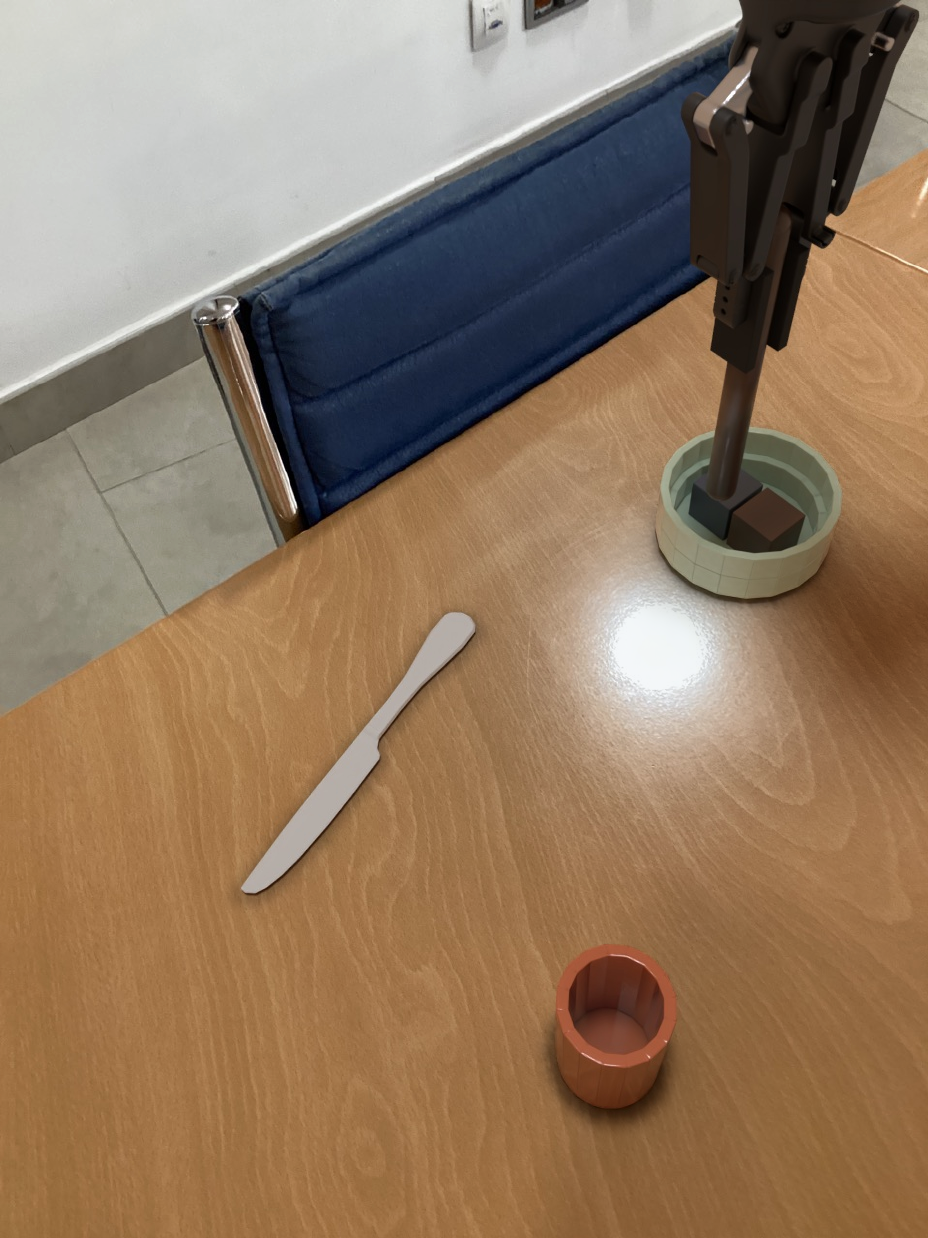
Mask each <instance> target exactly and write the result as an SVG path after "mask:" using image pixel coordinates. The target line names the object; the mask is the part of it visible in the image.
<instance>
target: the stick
mask: <svg viewBox="0 0 928 1238" xmlns="http://www.w3.org/2000/svg"><path fill="white" fill-rule="evenodd" d="M791 227H792V214H791V212H790V210H789V209H788V207H787V206H785V205H784V204H782V203H781V206H780V210H779V214H778V218H777V221H776V225H775V229H774V233H773V237H772V241H771V244H770V248H769V252H768V256H767V260H766V264H765V266H767V267H768V268H770V269H772V270H773V271H774V276H773V281H772V286H771V291H770V296H769V301H768V306H767V311H766V316H765V320H764V325H763V330H762V335H761V340H760V345H759V350H758V355H757V360H756V364H755V368H754V369H752V370H751V371H749V372H748V373H747V374H745V373H743V372H742V371H740V370H739V369H737V368H736V367H734V366H733V365H731V364H730V363H728V362H727V361H726V365H725V366H726V367H725V372H724V378H723V384H722V390H721V396H720V400H719V401H720V402H719V407H718V411H717V418H716V419H717V420H716V424H715V429H714V430H715V435H714V440H713V446H712V452H711V458H710V463H709V469H708V475H707V481H706V491H707V494H708V495H709V496H710V497H711V498H712V499H714V500H716V501H726V500H728V499H730V498H731V497H732V496H733V495H734V493H735V491H736V488H737V483H738V479H739V474H740V469H741V464H742V460H743V455H744V450H745V445H746V441H747V436H748V431H749V426H751V422H752V416H753V412H754V407H755V402H756V398H757V393H758V389H759V384H760V379H761V374H762V369H763V365H764V360H765V355H766V350H767V347H768V345H767V341H768V336H769V332H770V327H771V322H772V317H773V313H774V308H775V303H776V299H777V294H778V289H779V284H780V280H781V275H782V270H783V265H784V261H785V256H786V251H787V246H788V242H789V237H790V232H791Z"/></svg>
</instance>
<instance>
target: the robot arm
mask: <svg viewBox="0 0 928 1238" xmlns="http://www.w3.org/2000/svg"><path fill="white" fill-rule="evenodd" d="M901 1H902V0H738V2H739V6H740V9H741V14H742V15H741V21H740V24H739V27H738V30H737V33H736V36H735V38H734V41H733V43H732V45H731V48H730V50H729V55H728V70H729V72H728V73H727V74H726V76H724V78H723V79H722V80H721V81H720V83H719V84H718V85H717V86H716V87H715V88H714V90H713V91H712V92H711V93H710V95H708V96H706V95H704V94H702V93H700V92H698V91H693V92H690V94H689V95H687V96H686V98H685V99H684V101H683V102H682V106H681V109H680V118H681V121H682V123H683V126H684V129H685V132H686V134H687V137H688V139H689V142H690V143H689V144H690V147H689V148H690V152H689V153H690V155H689V157H690V161H689V162H690V163H689V164H690V166H689V173H690V174H689V175H690V176H689V177H690V178H689V181H690V183H689V192H690V193H689V198H690V199H689V263H690V264H691V265H692V266H694V267H695V268H697V269H698V270H700V271H701V272H703V273H705V274H706V275H707V276H710V277H711V278H713V279H715V280H716V286H715V296H714V302H713V306H712V313H713V316H714V322H713V328H712V336H711V341H710V346H709V347H710V348H709V351H710V352H712V353H713V354H715V355H716V356H717V357H719V358H721V359H722V360H724V361H725V362H726V363H727V362H728V363H730V364H731V365H733V366H734V367H736V368H737V369H739V370H740V371H742V372H743V373H745V374H747V373H748V372H749V371H751V370H752V369H754V368H755V364H756V360H757V355H758V350H759V345H760V340H761V335H762V330H763V325H764V320H765V316H766V311H767V306H768V301H769V296H770V291H771V286H772V281H773V276H774V271H773V270H772V269H770V268H768V267H767V266H765V264H766V260H767V256H768V252H769V248H770V244H771V241H772V237H773V233H774V229H775V225H776V221H777V218H778V214H779V210H780V206H781V203H782V204H784V205H785V206H787V207H788V209H789V210H790V212H791V214H792V227H791V232H790V237H789V242H788V246H787V251H786V256H785V261H784V265H783V270H782V275H781V280H780V284H779V289H778V294H777V299H776V303H775V308H774V313H773V317H772V322H771V327H770V332H769V336H768V341H767V347H769V348H771V349H772V350H774V351H775V352H777V353H778V352H780V351H781V350H783V349H784V348H785V347H786V348H787V346H788V344H789V343H788V342H789V338H790V334H791V330H792V325H793V322H794V316H795V312H796V308H797V304H798V299H799V295H800V291H801V287H802V282H803V280H804V277H805V274H806V271H807V265H808V261H809V259H810V258H809V257H810V253H811V248H812V245H814V246H815V247H818V248H819V249H821V250H825V249H826V248H828V247H829V246H830V245H831V243H832V242H833V240H834V239H835V237H836V233H837V231H836V230H834V229H833V228H830V227H829V226H826V221H827V218H828V217H829V216H830V215H832V216H834V217H837V218H838V217H839V216H841V215H842V214H844V212H846V210H847V209H848V206H849V205H850V203H851V199H852V196H853V193H854V190H855V187H856V185H857V181H858V179H859V176H860V172H861V170H862V167H863V164H864V161H865V159H866V155H867V152H868V150H869V146H870V143H871V142H872V141H871V140H872V137H873V135H874V131H875V129H876V126H877V123H878V120H879V117H880V114H881V111H882V109H883V106H884V103H885V100H886V97H887V93H888V90H889V88H890V84H891V82H892V79H893V75H894V74H895V70H896V67H897V64H898V62H899V60H900V58H901V56H902V55H903V53H904V51H905V49H906V47H907V45H908V43H909V41H910V39H911V37H912V35H913V33H914V32H915V29H916V27H917V25H918V22H919V20H920V11H919V10H918V9H917V8H914V7H912V6H909V5H907V4H905V3H902V2H901ZM870 54H871V55H870ZM833 181H835V183H834V185H833Z"/></svg>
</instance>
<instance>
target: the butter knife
mask: <svg viewBox="0 0 928 1238" xmlns="http://www.w3.org/2000/svg"><path fill="white" fill-rule="evenodd" d="M475 632H476V623H475V622H474V620H473V619H472V617H471V616H469V615H468V614H466V613H464V612H457V611H456V612H454V611H451V612H449V613H446V614H444V615H443V616H442V617H441V618H440V620H439V621H438V622H437V623H436V624H435V626H433V628H432V629H431V630H430V632H429V633H428V635H427V637H426V639H425V640H424V642H423V644H422V646H421V647H420V649H419V651H418V653H417V654H416V656H415V658H414V659H413V661H412V663H411V665H410V666H409V668H408V670H407V672H406V673H405V675H404V677H403V678H402V679H401V681H400V683H398V685H397V687H395V689H394V690H393V692H392V693H391V694H390V696H389V697H388V699H387V700H386V701H385V702H384V704H383V705H381V707H380V708H379V709H378V711H376V713H375V714H374V715H373V717H372V718H371V719H370V720H369V721H368V723H367V724H366V725H365V726H364V728H363V729H362V730H361V731H360V732H359V734H358V735H357V736H356V737H355V739H354V740H353V742H352V743H351V744H350V745H349V746H348V747H347V749H346V750H345V751H344V752H343V754H342V755H341V756H340V757H339V759H338V760H337V761H336V762H335V763H334V765H333V766H332V767H331V769H330V770H329V771H328V772H327V773H326V775H325V776H324V777H323V779H322V780H321V781H320V782H319V783H318V785H316V787H315V788H314V789H313V791H312V792H311V793H310V795H309V796H308V797H307V799H306V800H304V802H303V803H302V804H301V806H300V807H299V808H298V810H297V811H296V812H295V814H294V815H293V816H292V817H291V818H290V820H289V822H288V823H287V824H286V826H285V827H283V830H281V832H280V833H279V834H278V836H277V837H276V839H274V841H273V842H272V844H271V846H270V847H269V848H268V849H267V851H266V852H265V854H264V855H262V857H261V859H260V861H259V862H258V863H257V864H256V866H255V867H254V869H253V870H252V871H251V873H249V876H248V877H247V879H246V880H245V881H244V882H243V884H242V886H241V887H240V890H241V891H242V892H243V893H246V894H256V893H258V892H260V891H262V890H264V889H266V888H267V887H269V886H270V885H272V884H273V883H274V882H275V881H277V880H278V879H279V878H280V877H282V876H283V875H284V874H285V873H286V872H287V871H288V870H289V869H290V867H292V866H293V865H294V864H295V863H296V862H297V861H298V860H299V859H300V858H301V857H302V855H303V854H304V853H305V852H306V850H308V849H309V847H310V846H311V845H312V844H313V843H314V842H315V840H317V838H318V837H319V836H320V835H321V834H322V832H323V831H324V830H326V828H327V827H328V825H329V824H330V823H332V821H333V819H334V818H335V817H336V816H337V814H338V813H339V811H340V810H342V808H343V807H344V805H345V804H346V803H347V802H348V800H349V799H350V798H351V797H352V796H353V794H354V793H355V792H356V790H357V789H358V788H359V786H360V785H361V783H362V782H363V781H364V780H365V779H366V777H367V776H368V774H369V773H370V772H371V770H372V769H373V768H374V767H375V765H376V764H377V763H378V761H379V760H380V756H381V753H380V752H379V749H378V745H379V742H380V739H381V738H382V736H383V735H384V733H386V731H387V730H388V728H389V727H390V726H391V724H393V722H394V720H395V719H396V718H397V716H398V715H399V714H400V713H401V712H402V710H403V709H404V707H405V706H406V705H407V704H408V703H409V702H410V701H411V700H412V699H413V697H414V696H416V694H417V692H419V690H420V689H421V688H422V687H423V686H424V685H425V684H426V683H428V681H429V680H431V678H432V677H434V675H436V674H437V673H438V672H439V671H440V670H441V669H442V668H443V667H445V665H447V663H448V662H449V661H451V660H452V658H454V657H455V655H457V654H458V653H459V652H460V651H461V650H462V649H463V648H464V646H465V645H466V644H467V642H468V641H469V640H470V639H471V638H472V636H473V635H474V633H475Z"/></svg>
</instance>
